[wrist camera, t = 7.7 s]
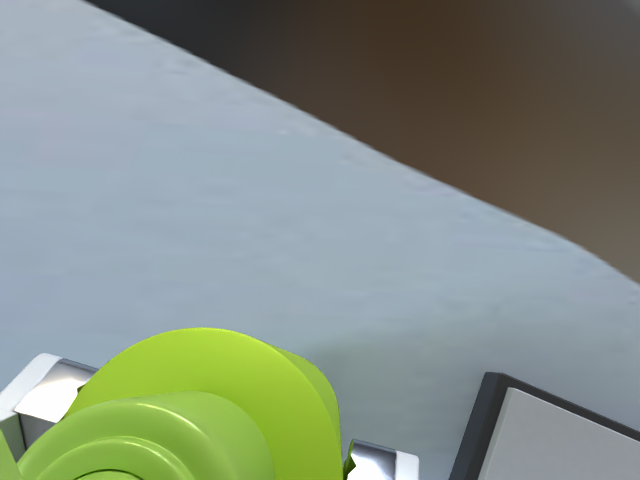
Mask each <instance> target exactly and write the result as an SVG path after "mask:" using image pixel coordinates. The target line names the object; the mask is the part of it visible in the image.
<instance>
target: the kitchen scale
mask: <svg viewBox="0 0 640 480" xmlns="http://www.w3.org/2000/svg"><path fill="white" fill-rule="evenodd" d="M449 480H640V432H639V431H637V430H634V429H632V428H630V427H627V426H625V425H623V424H620V423H618V422H616V421H613V420H611V419H609V418H606V417H604V416H602V415H599V414H597V413H595V412H592V411H590V410H588V409H585V408H583V407H581V406H578V405H576V404H574V403H571V402H569V401H567V400H564V399H562V398H560V397H557V396H555V395H553V394H550V393H548V392H546V391H543V390H541V389H539V388H536V387H534V386H532V385H529V384H527V383H525V382H522V381H520V380H518V379H515V378H513V377H511V376H508V375H506V374H504V373H497V372H486V373H485V375H484V378H483V381H482V384H481V387H480V390H479V393H478V396H477V399H476V402H475V404H474V407H473V410H472V413H471V416H470V419H469V422H468V425H467V428H466V431H465V434H464V437H463V440H462V443H461V446H460V449H459V451H458V454H457V457H456V460H455V463H454V466H453V469H452V472H451V475H450V478H449Z"/></svg>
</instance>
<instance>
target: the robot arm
mask: <svg viewBox="0 0 640 480" xmlns="http://www.w3.org/2000/svg"><path fill="white" fill-rule="evenodd" d="M98 370H99V369H97V368H94V367H91V366H87V365H84V364H81V363H78V362H74V361H71V360H68V359H65V358H61V357H58V356H54V355H51V354H47V353H42V354H40V355H38V356H36V357H35V358H34V359H33V360H32V361H31V362H30V363H29V364H28V365H27V366H26V367H25V368H24V369H23V370H22V371H21V372H20V373H19V374H18V375H17V376H16V377H15V378H14V379H13V380H12V381H11V383H10V384H9V385H8V386H7V387H6V388H5V389H4V390H3V391H2V392H1V393H0V429H1V431H2V433H3V435H4V438H5V440H6V442H7V444H8V447H9V449H10V451H11V453H12V455H13V458H14V460H15V462H16V464H17V462H18V461H19V459H20V458H21V457H22V456H23V454H24V453H25V452H26V451H27V450H28V448H29V447H30V446H31V445H32V444H33V443H34V442H35V441H36V440H37V439H38V438H39V437H40V436H41V435H43V434H44V433H45V432H46V431H47V430H49V429H50V428H51V427H53V426H54V425H55V424H57V423H58V422H60V421H61V420H63V419H64V417H65V414H66V412H67V410H68V408H69V406H70V405H71V403H72V402H73V400H74V399H75V397H76V396H77V394H78V393H79V392H80V390H81V389H82V388H83V387H84V385H85V384H86V383H87V382H88V381H89V380H90V378H91V377H92V376H93V375H94V374H95V373H96V372H97V371H98ZM343 480H419V459H418V456H415V455H411V454H407V453H404V452H400V451H395V449H391V448H387V447H383V446H380V445H376V444H372V443H368V442H364V441H360V440H357V439H352V441H351V444H350V447H349V452H348V458H347V460H346V461H345V463H344V466H343Z"/></svg>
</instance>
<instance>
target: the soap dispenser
mask: <svg viewBox="0 0 640 480" xmlns="http://www.w3.org/2000/svg"><path fill="white" fill-rule="evenodd" d="M0 480H343V467H342V450H341V433H340V416H339V407H338V403H337V399H336V396H335V393H334V391H333V389H332V387H331V385H330V383H329V381H328V380H327V378H326V377H325V376H324V374H323V373H322V372H321V371H320V370H319V369H318V368H317V367H316V366H315V365H313V364H312V363H311V362H309V361H308V360H306V359H304V358H302V357H300V356H298V355H295V354H293V353H290V352H288V351H285V350H283V349H280V348H278V347H275V346H273V345H270V344H268V343H265V342H263V341H260V340H258V339H255V338H253V337H250V336H248V335H245V334H241V333H238V332H234V331H230V330H225V329H218V328H185V329H178V330H173V331H169V332H165V333H161V334H158V335H155V336H152V337H150V338H147V339H145V340H143V341H140V342H138V343H136V344H134V345H133V346H131V347H129V348H127V349H126V350H124V351H122V352H121V353H119V354H118V355H117V356H115V357H114V358H113V359H111V360H110V361H109V362H107V363H106V364H105V365H104V366H103V367H102V368H101V369H99V370H98V371H97V372H96V373H95V374H94V375H93V376H92V377H91V378H90V380H89V381H88V382H87V383H86V384H85V385H84V387H83V388H82V389H81V390H80V392H79V393H78V394H77V396H76V397H75V399H74V400H73V402H72V403H71V405H70V406H69V408H68V410H67V412H66V414H65V417H64V419H63V420H61V421H60V422H58V423H57V424H55V425H54V426H53V427H51V428H50V429H49V430H47V431H46V432H45V433H44V434H43V435H41V436H40V437H39V438H38V439H37V440H36V441H35V442H34V443H33V444H32V445H31V446H30V447H29V448H28V450H27V451H26V452H25V453H24V454H23V456H22V457H21V458H20V459H19V461H18V462H17V464H16V462H15V460H14V458H13V455H12V453H11V451H10V449H9V447H8V444H7V442H6V440H5V438H4V435H3V433H2V431H1V429H0Z"/></svg>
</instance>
